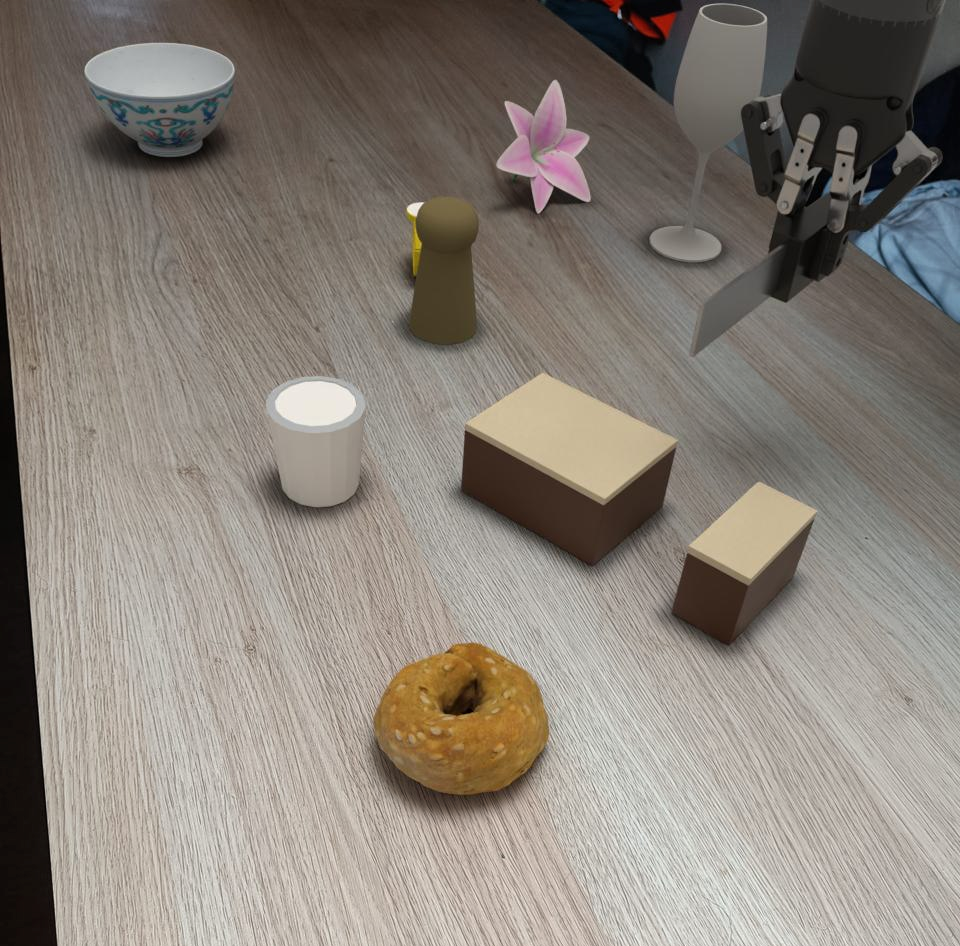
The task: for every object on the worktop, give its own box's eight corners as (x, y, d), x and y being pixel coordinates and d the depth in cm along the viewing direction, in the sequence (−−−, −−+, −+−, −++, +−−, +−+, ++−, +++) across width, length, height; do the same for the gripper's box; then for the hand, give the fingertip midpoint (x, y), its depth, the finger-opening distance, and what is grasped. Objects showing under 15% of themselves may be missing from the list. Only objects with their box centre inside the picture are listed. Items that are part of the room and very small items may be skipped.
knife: (809, 251, 80) (827, 192, 77) (837, 262, 79) (856, 202, 76) (674, 355, 69) (687, 291, 66) (704, 369, 68) (719, 304, 65)
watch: (404, 254, 106) (405, 192, 101) (433, 254, 106) (435, 193, 102) (406, 285, 101) (407, 223, 97) (436, 286, 102) (438, 224, 97)
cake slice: (737, 547, 79) (758, 480, 74) (793, 576, 77) (818, 510, 73) (670, 612, 74) (688, 545, 69) (728, 646, 72) (750, 579, 68)
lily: (472, 221, 113) (516, 154, 105) (462, 132, 117) (502, 61, 109) (572, 247, 119) (621, 185, 111) (559, 161, 123) (604, 96, 115)
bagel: (585, 730, 66) (596, 677, 63) (462, 841, 60) (466, 789, 57) (463, 644, 70) (467, 590, 67) (337, 740, 64) (334, 687, 61)
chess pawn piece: (400, 336, 95) (401, 213, 87) (419, 302, 99) (422, 182, 91) (467, 349, 95) (475, 226, 87) (484, 314, 99) (492, 194, 91)
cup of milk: (253, 479, 81) (244, 398, 76) (327, 443, 84) (323, 363, 79) (312, 525, 78) (307, 444, 72) (386, 486, 81) (386, 406, 76)
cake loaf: (534, 438, 86) (542, 372, 82) (662, 506, 81) (678, 439, 77) (460, 490, 81) (464, 422, 77) (592, 566, 76) (605, 498, 72)
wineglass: (683, 220, 114) (729, -5, 99) (738, 250, 110) (795, 21, 95) (631, 239, 111) (671, 8, 95) (687, 270, 107) (737, 35, 92)
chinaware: (215, 182, 114) (206, 104, 108) (75, 163, 114) (59, 85, 109) (258, 126, 124) (252, 52, 118) (130, 109, 125) (118, 35, 119)
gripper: (1016, 10, 64) (914, 285, 76) (801, -46, 69) (739, 219, 82) (968, 40, 60) (869, 326, 72) (744, -22, 65) (687, 254, 78)
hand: (800, 268), depth 77 cm, fingers closed on knife, 2 cm apart
